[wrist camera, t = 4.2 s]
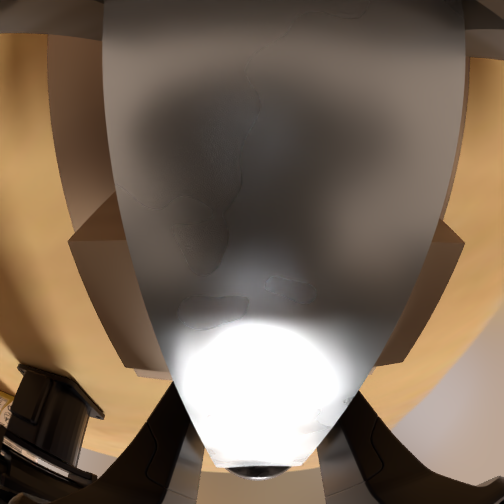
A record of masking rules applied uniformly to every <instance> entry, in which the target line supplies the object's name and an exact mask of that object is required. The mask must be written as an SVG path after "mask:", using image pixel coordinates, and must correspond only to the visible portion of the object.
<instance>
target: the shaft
mask: <svg viewBox="0 0 504 504" xmlns="http://www.w3.org/2000/svg"><path fill="white" fill-rule="evenodd" d="M102 67H103V91H104V106H105V117H106V127H107V136H108V144H109V152H110V159H111V165H112V171H113V177H114V183H115V189H116V194H117V199H118V204H119V209H120V214H121V218H122V223H123V227H124V232H125V236H126V240H127V244H128V248H129V252H130V256H131V259H132V263H133V267H134V270H135V274H136V277H137V281H138V284H139V287H140V291H141V294H142V297H143V300H144V303H145V307H146V310H147V313H148V316H149V319H150V321H151V324H152V327H153V330H154V333H155V336H156V338H157V341H158V344H159V346H160V349H161V352H162V354H163V357H164V359H165V362H166V364H167V367H168V369H169V372H170V374H171V376H172V379H173V381H174V384H175V386H176V388H177V390H178V393H179V395H180V397H181V399H182V402H183V404H184V406H185V408H186V410H187V412H188V414H189V416H190V418H191V421H192V423H193V425H194V427H195V429H196V431H197V433H198V434H199V436H200V438H201V440H202V442H203V444H204V446H205V448H206V450H207V451H208V453H209V455H210V457H211V459H212V460H213V462H214V464H215V466H216V467H222V468H225V469H226V470H228V471H229V472H230V473H232V474H234V475H236V476H238V477H241V478H244V479H249V480H266V479H271V478H274V477H276V476H279V475H281V474H283V473H284V472H286V471H287V470H288V469H289V468H291V467H292V466H301V465H302V464H303V463H304V462H305V461H306V459H307V458H308V457H309V456H310V455H311V454H312V452H313V451H314V450H315V449H316V448H317V446H318V445H319V444H320V443H321V441H322V440H323V439H324V438H325V436H326V435H327V434H328V432H329V431H330V430H331V429H332V427H333V426H334V425H335V423H336V422H337V420H338V419H339V418H340V416H341V415H342V414H343V412H344V411H345V409H346V408H347V406H348V405H349V404H350V402H351V401H352V399H353V398H354V396H355V395H356V393H357V392H358V390H359V389H360V387H361V385H362V384H363V382H364V381H365V379H366V378H367V376H368V374H369V373H370V371H371V369H372V368H373V366H374V364H375V363H376V361H377V359H378V357H379V356H380V354H381V352H382V350H383V349H384V347H385V345H386V343H387V341H388V339H389V338H390V336H391V334H392V332H393V330H394V328H395V326H396V324H397V322H398V320H399V318H400V316H401V314H402V312H403V310H404V308H405V306H406V303H407V301H408V299H409V297H410V295H411V292H412V290H413V288H414V285H415V283H416V281H417V278H418V276H419V273H420V271H421V269H422V266H423V263H424V261H425V258H426V256H427V253H428V250H429V247H430V245H431V242H432V239H433V236H434V233H435V230H436V227H437V224H438V221H439V217H440V214H441V211H442V207H443V204H444V200H445V197H446V193H447V189H448V185H449V181H450V177H451V172H452V168H453V163H454V158H455V153H456V148H457V143H458V137H459V130H460V123H461V116H462V107H463V97H464V84H465V25H464V12H463V3H462V0H104V13H103V36H102Z"/></svg>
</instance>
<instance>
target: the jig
mask: <svg viewBox="0 0 504 504" xmlns="http://www.w3.org/2000/svg"><path fill="white" fill-rule="evenodd" d="M462 3H463V12H464V25H465V84H464V97H463V107H462V116H461V123H460V130H459V137H458V143H457V148H456V153H455V158H454V163H453V168H452V172H451V177H450V181H449V185H448V189H447V193H446V197H445V200H444V204H443V207H442V211H441V214H440V217H439V221H438V224H437V227H436V230H435V233H434V236H433V239H432V242H431V245H430V247H429V250H428V253H427V256H426V258H425V261H424V263H423V266H422V269H421V271H420V273H419V276H418V278H417V281H416V283H415V285H414V288H413V290H412V292H411V295H410V297H409V299H408V301H407V303H406V306H405V308H404V310H403V312H402V314H401V316H400V318H399V320H398V322H397V324H396V326H395V328H394V330H393V332H392V334H391V336H390V338H389V339H388V341H387V343H386V345H385V347H384V349H383V350H382V352H381V354H380V356H379V357H378V359H377V361H376V363H375V364H374V366H373V368H372V369H371V371H370V373H369V374H368V375H371V374H372V373H373V371H374V370H375V368H376V366H383V365H389V364H395V363H400V362H403V361H404V359H405V358H406V356H407V355H408V353H409V352H410V350H411V349H412V347H413V346H414V344H415V342H416V341H417V339H418V337H419V336H420V334H421V332H422V331H423V329H424V327H425V326H426V324H427V322H428V320H429V319H430V317H431V315H432V313H433V311H434V310H435V308H436V306H437V304H438V302H439V300H440V298H441V296H442V294H443V292H444V290H445V288H446V286H447V284H448V282H449V280H450V278H451V275H452V273H453V271H454V269H455V266H456V264H457V262H458V259H459V257H460V255H461V252H462V250H463V247H464V245H465V243H464V241H463V240H462V239H461V238H460V237H459V236H458V235H457V234H456V233H455V232H454V231H453V230H452V229H451V228H450V227H449V226H448V225H447V224H445V223H444V222H443V218H444V215H445V212H446V208H447V205H448V201H449V198H450V194H451V190H452V186H453V183H454V178H455V174H456V170H457V165H458V161H459V156H460V150H461V145H462V139H463V133H464V127H465V119H466V111H467V102H468V90H469V72H470V57H478V58H489V59H497V60H504V0H462ZM103 13H104V0H0V33H35V34H48V50H47V69H48V93H49V106H50V116H51V125H52V132H53V139H54V146H55V152H56V157H57V163H58V168H59V173H60V177H61V182H62V186H63V191H64V195H65V199H66V203H67V207H68V210H69V214H70V218H71V221H72V224H73V228H74V231H75V234H74V235H73V236H72V237H71V238H70V239H69V240H68V244H69V247H70V249H71V252H72V255H73V258H74V260H75V263H76V266H77V268H78V271H79V274H80V276H81V279H82V281H83V283H84V286H85V288H86V291H87V293H88V295H89V297H90V300H91V302H92V304H93V306H94V309H95V311H96V313H97V315H98V317H99V319H100V321H101V323H102V325H103V327H104V329H105V331H106V333H107V335H108V337H109V339H110V341H111V343H112V345H113V346H114V348H115V350H116V352H117V354H118V355H119V357H120V359H121V361H122V363H123V364H124V366H125V367H126V368H133V369H134V371H135V372H136V374H137V376H138V377H146V378H154V379H163V380H173V379H172V376H171V374H170V372H169V369H168V367H167V364H166V362H165V359H164V357H163V354H162V352H161V349H160V346H159V344H158V341H157V338H156V336H155V333H154V330H153V327H152V324H151V321H150V319H149V316H148V313H147V310H146V307H145V303H144V300H143V297H142V294H141V291H140V287H139V284H138V281H137V277H136V274H135V270H134V267H133V263H132V259H131V256H130V252H129V248H128V244H127V240H126V236H125V232H124V227H123V223H122V218H121V214H120V209H119V204H118V199H117V194H116V189H115V183H114V177H113V171H112V165H111V159H110V152H109V144H108V136H107V127H106V117H105V106H104V91H103V67H102V36H103Z"/></svg>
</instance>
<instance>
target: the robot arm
mask: <svg viewBox="0 0 504 504" xmlns="http://www.w3.org/2000/svg"><path fill="white" fill-rule="evenodd" d="M17 369H18V370H19V371H20V372H21V373H22V375H23V379H22V381H21V383H20V386H19V388H18V390H17V393H16V395H15V398H14V400H13V403H12V405H11V408H10V412H11V413H12V414H11V416H10V419H9V422H8V425H7V428H6V427H5V426H3V425H2V424H0V504H196V502H197V501H196V500H197V494H198V488H199V480H200V474H201V468H202V461H203V455H204V448H205V446H204V444H203V442H202V440H201V438H200V436H199V434H198V433H197V431H196V429H195V427H194V425H193V423H192V421H191V418H190V416H189V414H188V412H187V410H186V408H185V406H184V404H183V402H182V399H181V397H180V395H179V393H178V390H177V388H176V386H175V384H174V381H173V382H172V383H171V385H170V386H169V388H168V389H167V391H166V392H165V394H164V395H163V397H162V398H161V400H160V401H159V403H158V404H157V406H156V407H155V409H154V410H153V412H152V413H151V415H150V416H149V418H148V419H147V422H145V424H144V425H143V427H142V428H141V430H140V431H139V433H138V434H137V435H136V437H135V438H134V439H133V441H132V442H131V443H130V445H129V446H128V447H127V448H126V449H125V450H124V452H123V453H122V454H121V455H120V456H119V457H118V458H117V460H116V461H115V462H114V463H113V464H112V465H111V466H110V467H109V468H108V469H107V471H106V472H105V473H104V474H103V475H102V476H101V477H100V478H99V479H97V475H95V474H92V473H89V472H85V471H82V470H80V469H78V468H77V463H78V459H79V454H80V451H81V446H82V442H83V438H84V435H85V431H86V427H87V423H88V420H89V416H90V417H93V418H97V419H101V420H104V417H105V415H104V414H103V413H102V412H101V411H100V410H99V409H98V408H97V407H96V405H95V404H94V403H93V402H92V401H91V400H90V399H89V398H88V397H87V396H86V395H85V393H84V392H83V391H82V390H81V389H80V388H79V387H78V385H77V384H76V383H75V382H74V381H72V380H70V379H68V378H64V377H60V376H57V375H53V374H50V373H47V372H44V371H40V370H37V369H34V368H31V367H28V366H25V365H23V364H18V367H17ZM4 438H5V439H7V440H8V441H10V442H12V443H13V444H15V445H16V446H18V447H20V448H21V449H23V450H25V451H26V452H28V453H30V454H32V455H33V456H35V457H37V458H39V459H41V460H43V461H44V462H47V463H48V464H50V465H52V466H55V467H56V468H59V469H61V470H63V471H65V472H67V473H69V475H68V477H65V476H63V475H61V474H59V473H56V472H54V471H52V470H50V469H48V468H46V467H44V466H42V465H40V464H38V463H36V462H35V461H33V460H31V459H29V458H27V457H26V456H24V455H22V454H20V453H19V452H17V451H16V450H14V449H12V448H11V447H9V446H8V445H6V444H4V443H3V440H4ZM317 452H318V458H319V464H320V469H321V475H322V481H323V487H324V493H325V500H326V504H504V478H503V477H501V476H497V477H495V478H492V479H490V480H488V481H486V482H484V483H481V484H479V485H477V486H473V485H470V484H466V483H463V482H460V481H457V480H454V479H451V478H448V477H445V476H443V475H440V474H437V473H435V472H433V471H431V470H430V469H428V468H427V467H426V466H424V465H423V464H422V463H421V462H420V461H419V460H418V459H417V458H416V457H415V456H414V455H413V454H412V453H411V452H410V451H409V450H408V449H407V448H406V447H405V446H404V445H402V443H401V442H400V441H399V440H398V439H397V438H396V437H395V436H394V435H393V433H392V432H391V431H390V430H389V429H388V427H387V426H386V425H385V424H384V422H383V421H382V420H381V418H380V417H378V415H377V413H376V412H375V411H374V409H373V408H372V407H371V405H370V404H369V403H368V402H367V400H366V399H365V398H364V396H363V395H362V394H361V392H360V391H359V390H358V392H357V393H356V395H355V396H354V398H353V399H352V401H351V402H350V404H349V405H348V406H347V408H346V409H345V411H344V412H343V414H342V415H341V416H340V418H339V419H338V420H337V422H336V423H335V425H334V426H333V427H332V429H331V430H330V431H329V432H328V434H327V435H326V436H325V438H324V439H323V440H322V441H321V443H320V444H319V445H318V446H317ZM1 453H2V454H4V456H3V455H2V454H1Z"/></svg>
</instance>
